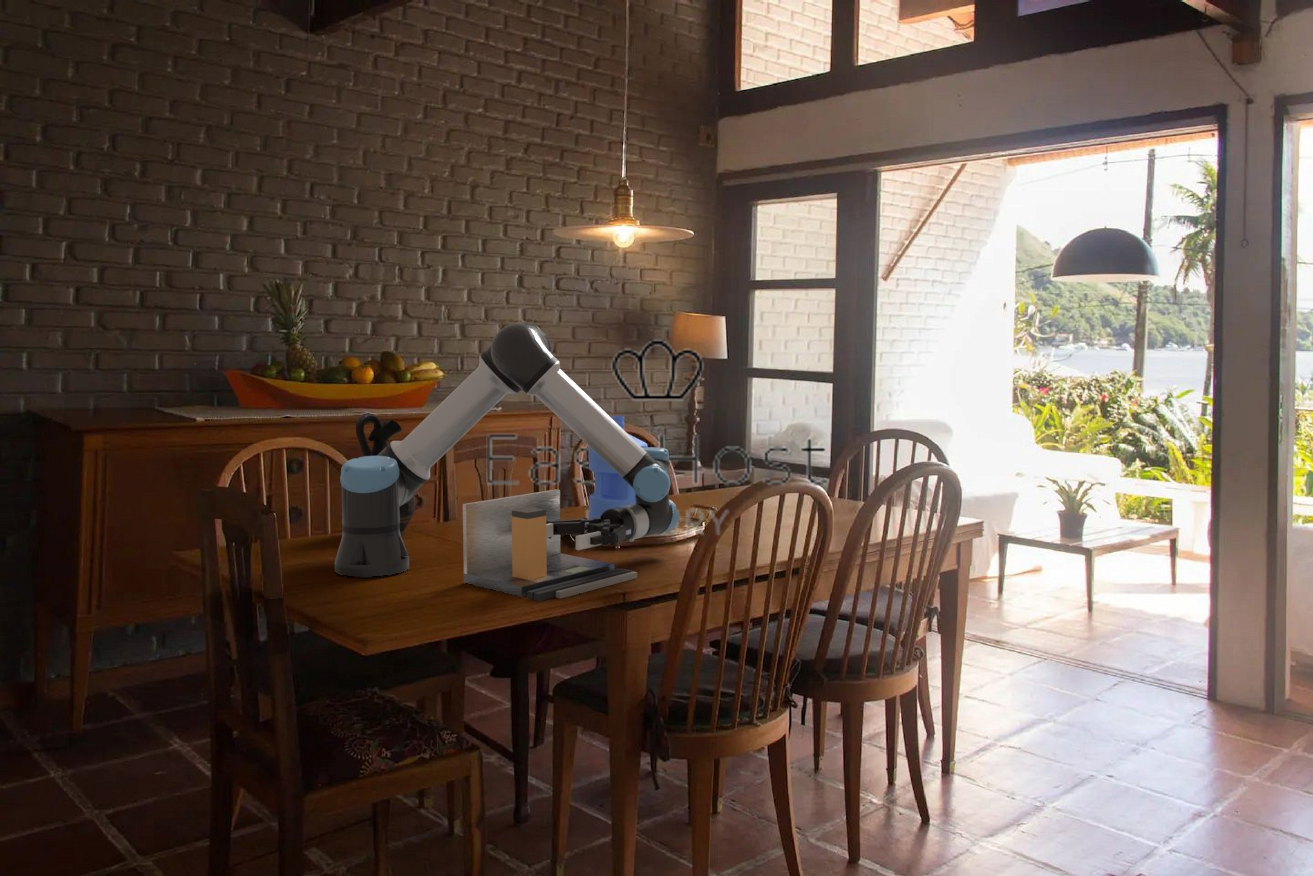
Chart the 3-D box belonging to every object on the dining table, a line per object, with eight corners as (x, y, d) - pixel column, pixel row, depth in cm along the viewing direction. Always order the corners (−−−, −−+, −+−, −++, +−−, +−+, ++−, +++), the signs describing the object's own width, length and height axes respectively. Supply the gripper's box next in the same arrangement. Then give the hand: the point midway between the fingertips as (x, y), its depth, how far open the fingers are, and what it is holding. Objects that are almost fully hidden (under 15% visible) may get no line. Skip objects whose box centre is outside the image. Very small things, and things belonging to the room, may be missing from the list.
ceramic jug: (390, 526, 272) (387, 410, 269) (428, 534, 262) (426, 413, 259) (332, 536, 259) (329, 414, 256) (370, 544, 249) (367, 417, 246)
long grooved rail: (544, 602, 197) (544, 595, 197) (527, 598, 200) (527, 591, 200) (637, 578, 217) (637, 571, 217) (619, 574, 220) (619, 567, 220)
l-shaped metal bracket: (521, 597, 201) (520, 513, 199) (463, 583, 212) (462, 504, 210) (614, 573, 221) (614, 497, 219) (557, 561, 232) (556, 489, 230)
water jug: (623, 515, 290) (623, 413, 287) (660, 523, 278) (660, 417, 275) (576, 521, 280) (576, 416, 277) (612, 530, 268) (612, 420, 265)
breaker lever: (528, 580, 206) (527, 513, 204) (512, 576, 209) (511, 510, 207) (546, 575, 210) (546, 509, 208) (531, 572, 212) (530, 507, 211)
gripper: (667, 549, 221) (598, 566, 205) (581, 533, 237) (510, 548, 221) (667, 513, 220) (598, 527, 204) (581, 500, 236) (510, 513, 220)
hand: (552, 538), depth 212 cm, fingers open, 13 cm apart
